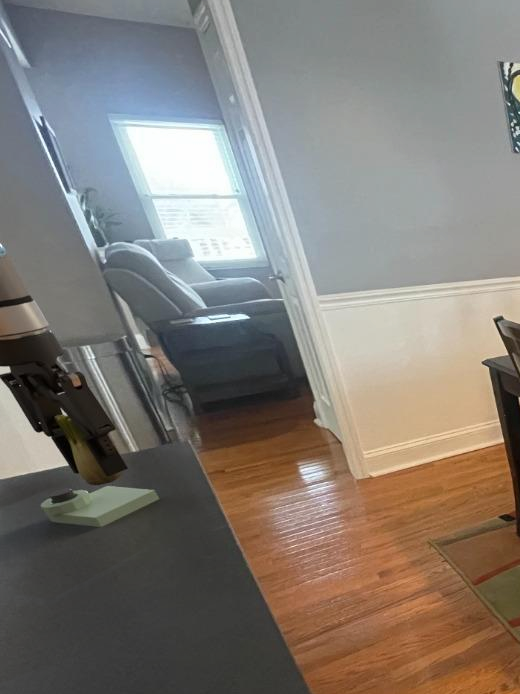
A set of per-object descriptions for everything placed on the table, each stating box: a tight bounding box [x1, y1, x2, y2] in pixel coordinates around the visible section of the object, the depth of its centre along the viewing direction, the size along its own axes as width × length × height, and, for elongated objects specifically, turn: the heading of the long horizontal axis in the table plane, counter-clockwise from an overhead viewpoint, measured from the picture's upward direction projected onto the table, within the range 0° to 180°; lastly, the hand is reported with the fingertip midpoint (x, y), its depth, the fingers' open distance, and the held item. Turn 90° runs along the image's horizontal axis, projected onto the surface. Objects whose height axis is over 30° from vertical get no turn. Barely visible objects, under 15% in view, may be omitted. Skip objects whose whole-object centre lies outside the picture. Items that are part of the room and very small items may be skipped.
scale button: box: [48, 488, 76, 504], centre depth 99 cm, size 3×3×2 cm
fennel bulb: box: [54, 413, 124, 486], centre depth 97 cm, size 6×5×12 cm
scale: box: [40, 485, 160, 528], centre depth 101 cm, size 12×10×4 cm
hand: (101, 470), depth 99 cm, fingers closed on fennel bulb, 6 cm apart
